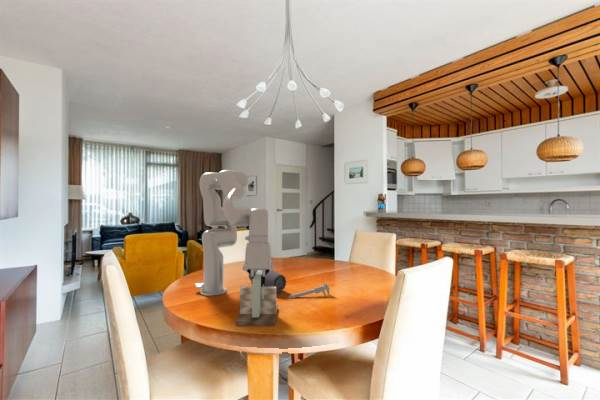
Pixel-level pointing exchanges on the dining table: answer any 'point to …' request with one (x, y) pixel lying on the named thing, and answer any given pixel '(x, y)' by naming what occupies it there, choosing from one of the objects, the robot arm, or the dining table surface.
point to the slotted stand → (267, 307)
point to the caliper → (312, 291)
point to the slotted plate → (257, 294)
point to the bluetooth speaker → (273, 280)
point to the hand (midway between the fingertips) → (258, 285)
